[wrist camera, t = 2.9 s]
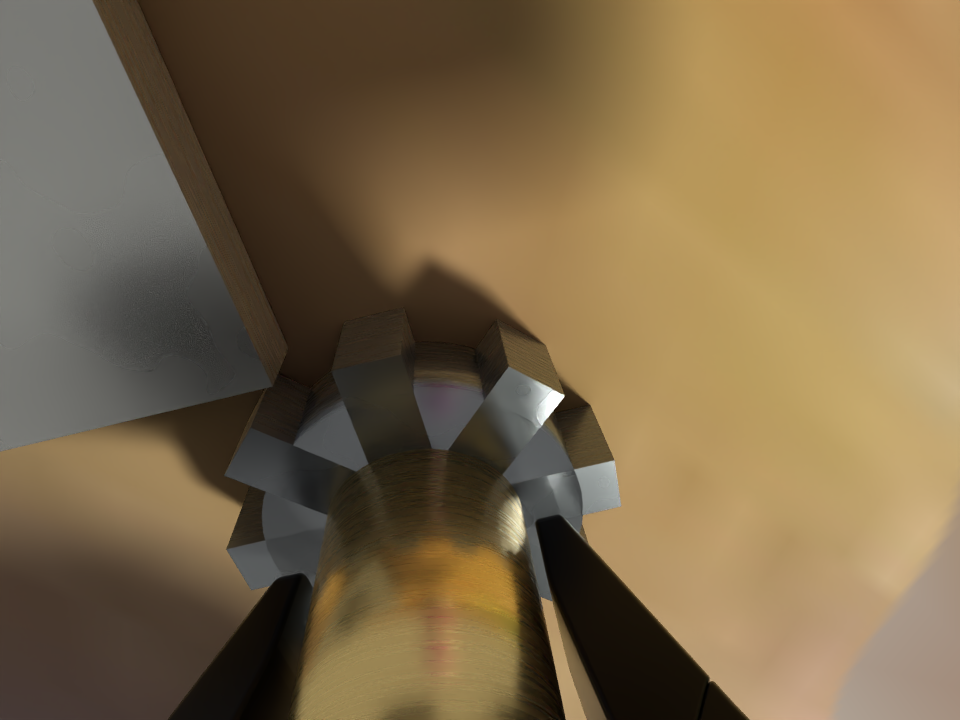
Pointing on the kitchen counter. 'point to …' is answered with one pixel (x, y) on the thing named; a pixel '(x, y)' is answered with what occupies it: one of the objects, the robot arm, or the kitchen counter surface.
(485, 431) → the gear
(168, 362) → the carrier
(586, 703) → the robot arm
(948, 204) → the kitchen counter surface
